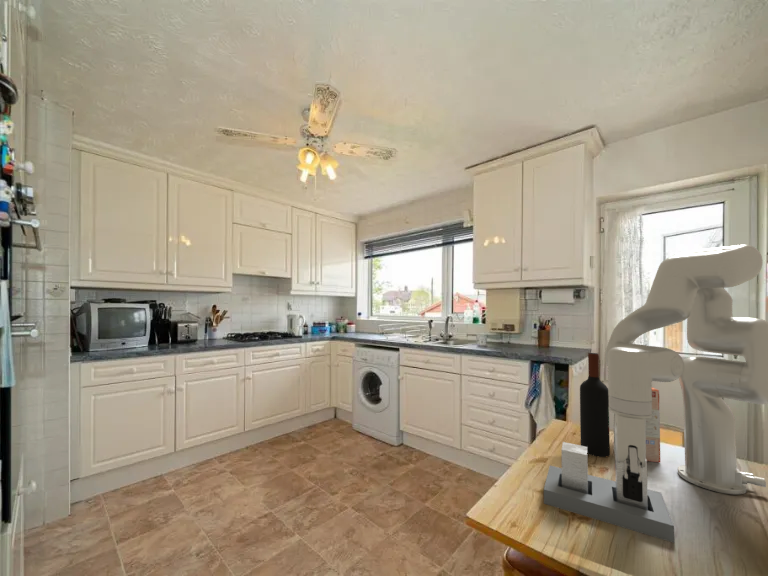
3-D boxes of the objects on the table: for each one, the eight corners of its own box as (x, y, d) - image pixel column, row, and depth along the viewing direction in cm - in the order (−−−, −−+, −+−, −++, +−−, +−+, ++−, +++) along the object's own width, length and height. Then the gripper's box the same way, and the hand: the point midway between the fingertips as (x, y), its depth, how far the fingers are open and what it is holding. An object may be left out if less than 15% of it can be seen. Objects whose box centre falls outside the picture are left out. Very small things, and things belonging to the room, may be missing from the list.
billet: (588, 495, 76) (587, 446, 77) (588, 506, 72) (587, 455, 72) (563, 488, 79) (562, 441, 79) (562, 499, 75) (561, 449, 75)
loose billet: (644, 503, 71) (643, 451, 71) (647, 516, 67) (646, 460, 67) (615, 496, 73) (615, 446, 74) (617, 507, 69) (616, 454, 70)
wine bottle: (575, 446, 105) (573, 351, 106) (597, 445, 106) (595, 351, 107) (592, 457, 97) (591, 355, 99) (616, 456, 98) (614, 355, 100)
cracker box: (662, 463, 94) (660, 389, 95) (638, 461, 95) (636, 388, 96) (635, 443, 108) (634, 378, 109) (615, 441, 109) (613, 377, 110)
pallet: (661, 511, 72) (661, 492, 73) (674, 548, 61) (673, 525, 62) (549, 481, 84) (549, 465, 84) (543, 507, 73) (543, 489, 73)
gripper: (606, 394, 80) (608, 470, 79) (610, 413, 66) (612, 507, 65) (646, 399, 76) (647, 480, 75) (659, 421, 62) (661, 521, 61)
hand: (631, 491), depth 70 cm, fingers closed on loose billet, 5 cm apart
